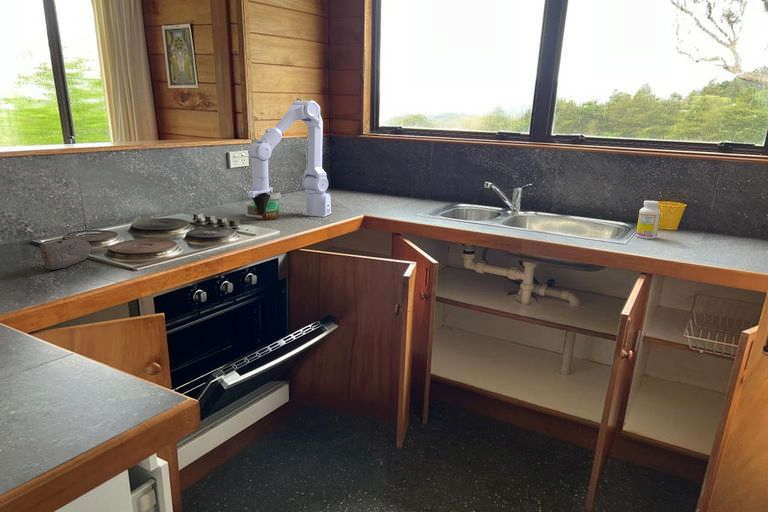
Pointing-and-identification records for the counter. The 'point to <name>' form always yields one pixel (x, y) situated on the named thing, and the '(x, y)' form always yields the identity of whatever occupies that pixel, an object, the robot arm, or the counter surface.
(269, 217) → the food container
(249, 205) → the letter cube
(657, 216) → the supplement bottle
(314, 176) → the robot arm
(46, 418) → the counter surface
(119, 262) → the counter surface
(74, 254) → the perforated stone tool
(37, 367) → the counter surface
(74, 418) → the counter surface
